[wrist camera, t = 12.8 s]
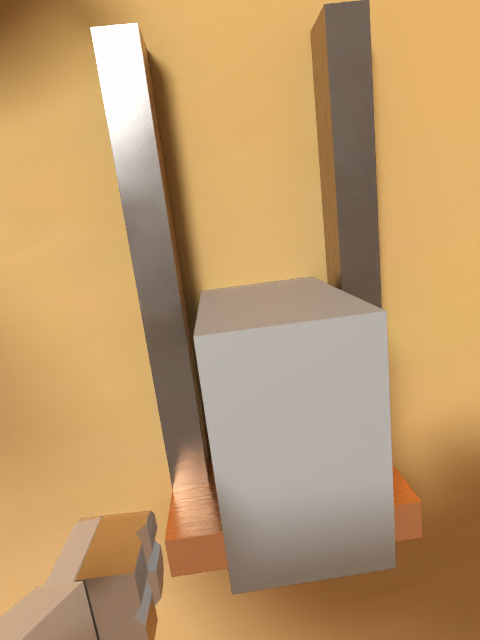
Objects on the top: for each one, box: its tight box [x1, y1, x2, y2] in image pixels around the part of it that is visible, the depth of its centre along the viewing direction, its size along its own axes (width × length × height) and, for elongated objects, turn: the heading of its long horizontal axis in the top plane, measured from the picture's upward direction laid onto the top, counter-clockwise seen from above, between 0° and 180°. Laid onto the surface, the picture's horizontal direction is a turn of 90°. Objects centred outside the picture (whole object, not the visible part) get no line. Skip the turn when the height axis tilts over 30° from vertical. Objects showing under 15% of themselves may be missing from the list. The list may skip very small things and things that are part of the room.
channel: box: [90, 0, 422, 577], centre depth 15 cm, size 10×20×5 cm, turn 7°
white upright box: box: [193, 277, 396, 594], centre depth 15 cm, size 5×8×8 cm, turn 7°
